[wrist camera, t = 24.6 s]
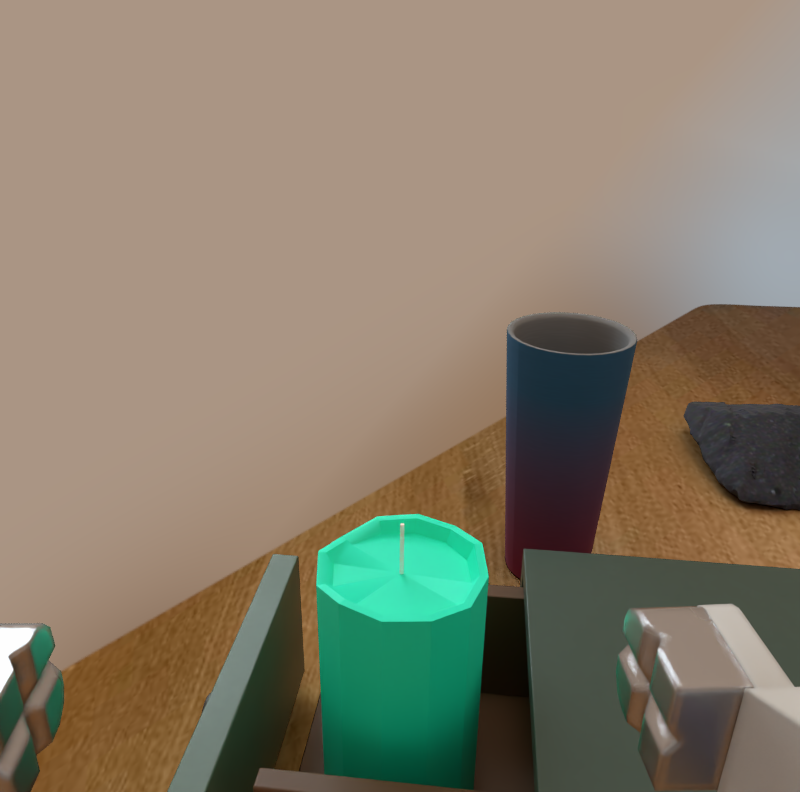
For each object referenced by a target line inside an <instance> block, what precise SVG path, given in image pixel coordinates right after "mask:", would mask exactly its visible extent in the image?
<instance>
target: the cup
mask: <svg viewBox="0 0 800 792" xmlns="http://www.w3.org/2000/svg"><path fill="white" fill-rule="evenodd" d="M636 343H637V337H636V334H635V333H634V332H633V331H632V330H631V329H629V328H628V327H626V326H624V325H622V324H620V323H618V322H615V321H612V320H609V319H605V318H602V317H597V316H592V315H585V314H578V313H561V312H559V313H557V312H553V313H539V314H532V315H527V316H523V317H520V318H517V319H516V320H514V321H512V322H511V323H510V324H509V325H508V328H507V390H506V515H505V561H506V564H507V566H508V568H509V570H510V571H511V572H512V573H513V574H514V575H515V576H517V577H518V578H519V579H521V569H522V558H523V549H537V550H551V551H564V552H577V553H591V552H592V548H593V543H594V538H595V534H596V529H597V525H598V520H599V515H600V511H601V506H602V501H603V497H604V492H605V487H606V483H607V478H608V473H609V469H610V464H611V460H612V455H613V450H614V446H615V441H616V436H617V432H618V427H619V422H620V418H621V413H622V408H623V404H624V399H625V395H626V390H627V385H628V381H629V376H630V371H631V367H632V362H633V357H634V353H635V348H636Z"/></svg>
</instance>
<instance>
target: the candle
mask: <svg viewBox="0 0 800 792" xmlns="http://www.w3.org/2000/svg"><path fill="white" fill-rule="evenodd" d="M488 580H489V575H488V570H487V565H486V560H485V555H484V549H483V544H482V543H481V542H480V541H478V540H477V539H475V538H474V537H472V536H470V535H469V534H467V533H466V532H464V531H463V530H461V529H460V528H458V527H456V526H454V525H451V524H448V523H445V522H442V521H439V520H436V519H432V518H429V517H426V516H423V515H420V514H409V515H393V516H377V517H376V518H374V519H372V520H370V521H368V522H367V523H365V524H363V525H361V526H359V527H358V528H356V529H354V530H352V531H351V532H349V533H347V534H345V535H343V536H342V537H340V538H338V539H337V540H335V541H334V542H332V543H331V544H329V545H327V546H326V547H324V548H323V549H321V550H319V551H318V565H317V583H316V589H317V613H318V636H319V660H320V684H321V707H322V731H323V755H324V774H327V775H336V776H346V777H355V778H364V779H374V780H383V781H393V782H402V783H411V784H421V785H430V786H439V787H449V788H458V789H468V790H473V789H474V775H475V761H476V748H477V734H478V720H479V706H480V692H481V678H482V664H483V650H484V636H485V622H486V608H487V594H488Z"/></svg>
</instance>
